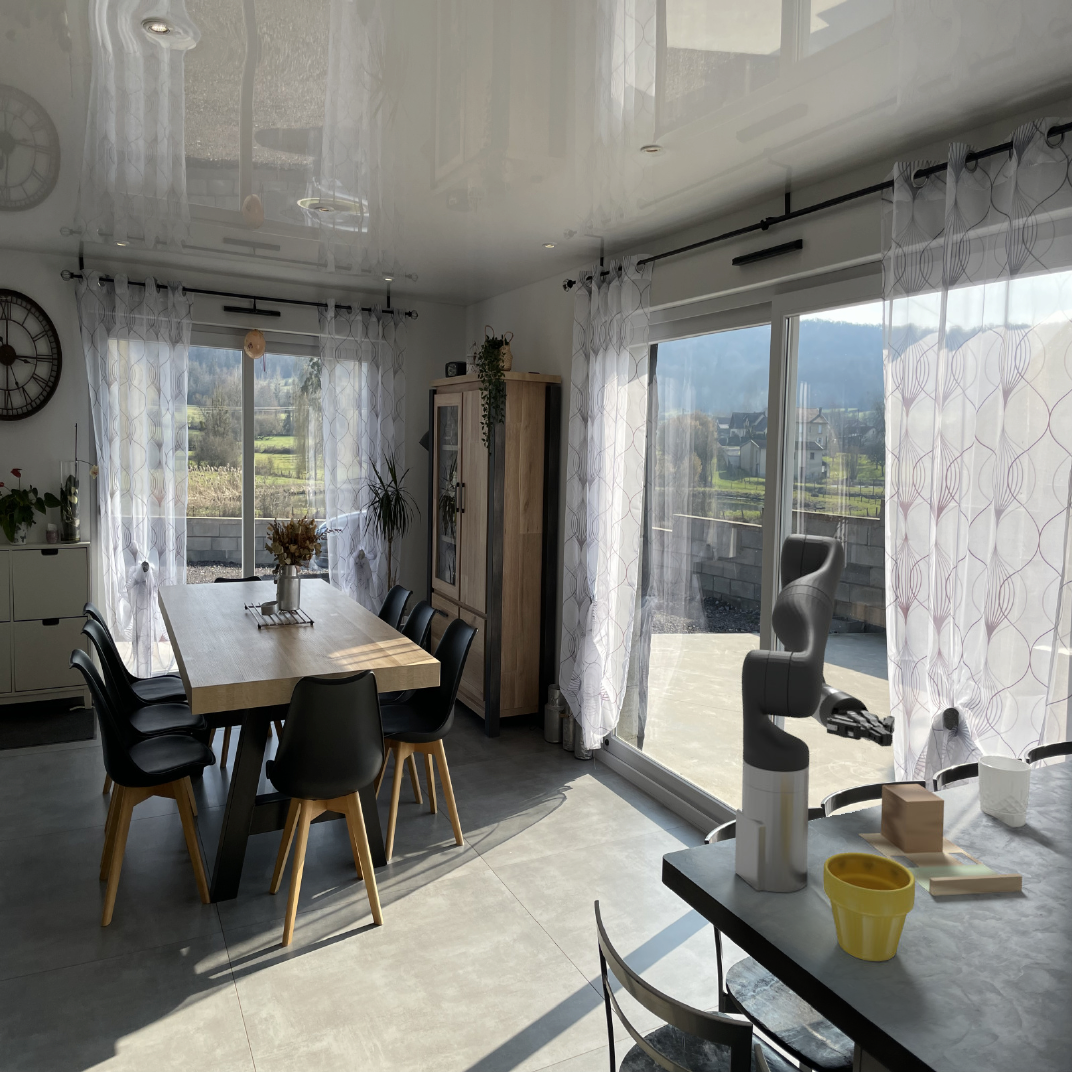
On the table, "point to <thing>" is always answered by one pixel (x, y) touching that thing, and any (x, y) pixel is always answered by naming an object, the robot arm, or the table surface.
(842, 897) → the plant pot
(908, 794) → the walnut block
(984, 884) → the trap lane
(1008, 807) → the white cup
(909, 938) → the table surface
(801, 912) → the table surface
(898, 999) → the table surface
